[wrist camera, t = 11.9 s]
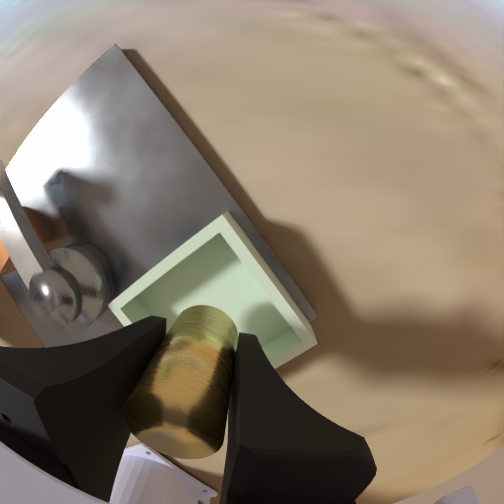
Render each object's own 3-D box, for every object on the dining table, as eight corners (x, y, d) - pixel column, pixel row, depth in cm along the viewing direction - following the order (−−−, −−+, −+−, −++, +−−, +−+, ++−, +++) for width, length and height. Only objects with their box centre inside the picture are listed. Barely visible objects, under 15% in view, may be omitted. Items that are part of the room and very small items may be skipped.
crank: (92, 303, 12) (48, 337, 8) (64, 330, 12) (25, 363, 9) (4, 147, 10) (-41, 145, 7) (-16, 184, 11) (-59, 189, 7)
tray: (310, 322, 14) (317, 343, 12) (206, 382, 15) (199, 406, 13) (228, 210, 13) (222, 214, 11) (126, 290, 14) (107, 305, 12)
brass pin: (250, 347, 12) (243, 448, 6) (196, 370, 12) (165, 463, 7) (215, 293, 11) (180, 380, 6) (161, 321, 11) (104, 404, 6)
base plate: (315, 311, 15) (331, 349, 11) (118, 417, 17) (99, 451, 14) (121, 49, 12) (88, 20, 8) (-17, 223, 14) (-52, 231, 11)
